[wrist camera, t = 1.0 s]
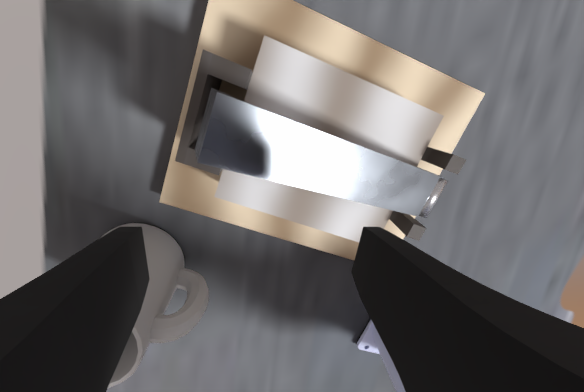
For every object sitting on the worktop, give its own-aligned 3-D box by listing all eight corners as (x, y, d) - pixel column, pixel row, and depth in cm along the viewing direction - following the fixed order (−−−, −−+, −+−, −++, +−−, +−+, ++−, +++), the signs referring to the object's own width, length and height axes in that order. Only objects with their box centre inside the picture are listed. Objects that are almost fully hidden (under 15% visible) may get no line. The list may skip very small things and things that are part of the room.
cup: (98, 213, 22) (-8, 285, 13) (223, 233, 23) (198, 308, 15) (99, 287, 24) (9, 386, 16) (213, 300, 26) (186, 398, 17)
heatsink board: (473, 94, 21) (545, 92, 16) (380, 262, 26) (410, 306, 20) (220, -28, 17) (198, -86, 12) (164, 196, 22) (130, 229, 16)
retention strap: (426, 169, 20) (452, 181, 18) (406, 206, 20) (429, 220, 19) (211, 87, 12) (218, 92, 10) (194, 149, 13) (197, 164, 11)
